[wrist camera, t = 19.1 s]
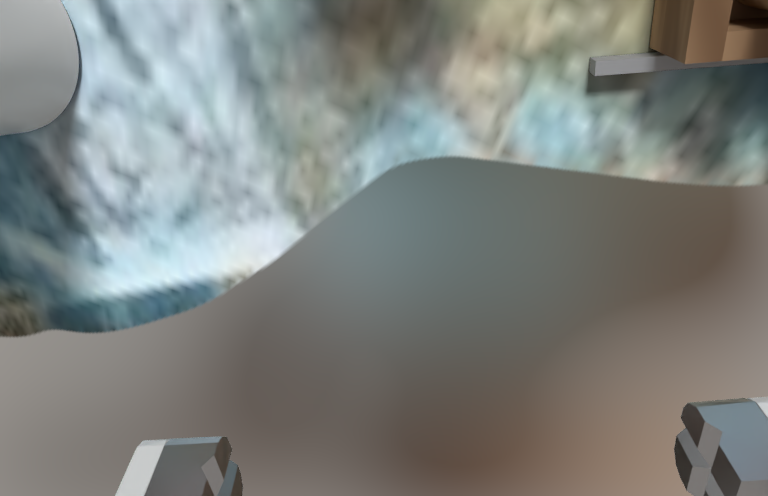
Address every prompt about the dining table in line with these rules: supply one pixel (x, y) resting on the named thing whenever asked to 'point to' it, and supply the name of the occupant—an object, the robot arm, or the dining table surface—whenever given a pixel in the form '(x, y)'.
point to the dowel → (755, 3)
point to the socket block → (709, 30)
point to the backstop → (652, 63)
